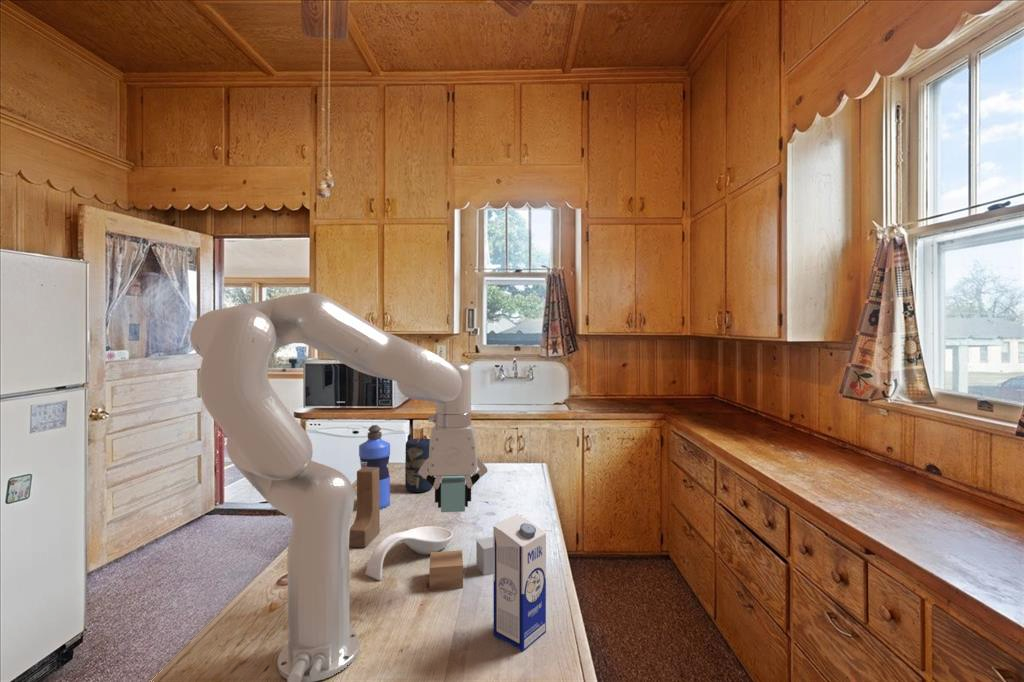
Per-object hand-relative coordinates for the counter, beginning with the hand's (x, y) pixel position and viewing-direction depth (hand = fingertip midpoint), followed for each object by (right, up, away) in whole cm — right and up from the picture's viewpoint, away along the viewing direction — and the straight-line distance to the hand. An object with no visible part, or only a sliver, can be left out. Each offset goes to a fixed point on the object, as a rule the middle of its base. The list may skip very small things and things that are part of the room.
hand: (453, 504), depth 100 cm
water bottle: (-30, -17, +46) cm, 58 cm away
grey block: (+8, -17, +7) cm, 20 cm away
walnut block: (-2, -17, +2) cm, 18 cm away
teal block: (0, -1, 0) cm, 1 cm away
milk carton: (+14, -18, -16) cm, 28 cm away
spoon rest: (-11, -18, +12) cm, 24 cm away
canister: (-19, -16, +61) cm, 66 cm away
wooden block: (-26, -17, +21) cm, 38 cm away
